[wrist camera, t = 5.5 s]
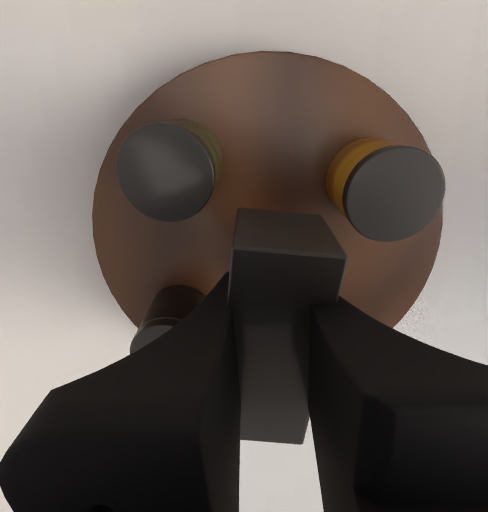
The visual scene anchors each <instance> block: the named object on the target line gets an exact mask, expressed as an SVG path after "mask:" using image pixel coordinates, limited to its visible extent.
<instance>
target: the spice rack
mask: <svg viewBox="0 0 488 512" xmlns="http://www.w3.org/2000/svg"><path fill="white" fill-rule="evenodd" d="M444 194H445V178H444V174H443V171H442V168H441V166H440V165H439V163H438V162H437V160H436V159H435V158H434V157H433V156H432V155H431V153H430V151H429V149H428V146H427V144H426V142H425V140H424V138H423V136H422V134H421V133H420V131H419V130H418V128H417V127H416V126H415V124H414V123H413V121H412V120H411V118H410V117H409V115H408V114H407V113H406V112H405V111H404V110H403V109H402V108H401V107H400V106H399V105H398V104H397V102H396V101H395V100H394V99H393V98H392V97H391V96H390V95H389V94H387V93H386V92H385V91H383V90H382V89H381V88H379V87H378V86H377V85H375V84H374V83H373V82H371V81H370V80H369V79H367V78H365V77H364V76H362V75H360V74H358V73H356V72H354V71H352V70H350V69H348V68H347V67H345V66H342V65H340V64H337V63H334V62H331V61H328V60H325V59H322V58H319V57H315V56H310V55H304V54H299V53H293V52H275V51H258V52H251V53H243V54H235V55H230V56H227V57H223V58H220V59H216V60H213V61H209V62H206V63H204V64H201V65H199V66H197V67H195V68H193V69H191V70H188V71H186V72H184V73H182V74H180V75H178V76H177V77H175V78H174V79H172V80H171V81H169V82H168V83H166V84H165V85H163V86H162V87H160V88H159V89H157V90H156V91H155V92H154V93H153V94H152V95H151V96H149V97H148V98H147V99H146V100H145V101H144V102H143V103H142V104H141V105H139V106H138V107H137V109H136V110H135V111H134V112H133V113H132V115H131V116H130V117H129V118H128V120H127V121H126V122H125V123H124V124H123V126H122V127H121V129H120V130H119V132H118V134H117V135H116V137H115V139H114V140H113V142H112V144H111V145H110V147H109V149H108V151H107V154H106V156H105V159H104V161H103V164H102V166H101V169H100V172H99V176H98V180H97V184H96V188H95V192H94V202H93V212H92V220H93V238H94V243H95V248H96V254H97V258H98V261H99V264H100V267H101V270H102V273H103V276H104V278H105V280H106V283H107V285H108V287H109V289H110V291H111V293H112V295H113V296H114V298H115V299H116V301H117V303H118V304H119V306H120V307H121V309H122V310H123V311H124V313H125V314H126V315H127V316H128V318H129V319H130V320H131V321H132V322H133V324H134V325H135V326H136V327H137V328H138V331H137V332H136V334H135V336H134V338H133V340H132V343H131V346H130V354H132V353H134V352H136V351H137V350H139V349H141V348H142V347H144V346H145V345H147V344H149V343H150V342H152V341H153V340H155V339H156V338H158V337H160V336H161V335H163V334H164V333H165V332H167V331H168V330H170V329H171V328H172V327H173V326H175V325H176V324H177V323H179V322H180V321H181V320H182V319H183V318H185V317H186V316H187V315H188V314H189V313H190V312H191V311H192V310H193V309H194V308H195V307H196V306H197V305H198V304H199V303H200V302H201V301H202V300H203V299H204V298H205V297H206V296H207V294H208V293H209V292H210V291H211V290H212V289H213V288H214V286H215V285H216V284H217V283H218V281H219V280H220V279H221V278H222V276H223V275H224V274H225V273H226V272H229V285H228V298H227V309H229V310H232V311H233V322H234V333H235V344H236V355H237V366H238V377H239V388H240V399H241V421H240V440H251V441H263V442H275V443H287V444H299V445H301V444H303V442H304V438H305V433H306V429H307V425H308V421H309V417H310V415H309V410H308V381H309V344H310V307H314V306H335V305H337V302H338V298H339V295H340V296H341V297H342V298H344V299H345V300H346V301H348V302H349V303H351V304H352V305H354V306H355V307H357V308H358V309H359V310H361V311H362V312H364V313H366V314H367V315H369V316H371V317H372V318H374V319H376V320H378V321H379V322H381V323H383V324H385V325H387V326H388V327H390V328H393V327H394V326H395V325H396V324H397V323H398V322H399V321H400V320H401V319H402V318H403V317H404V315H405V314H406V313H407V311H408V310H409V309H410V308H411V306H412V305H413V304H414V302H415V301H416V299H417V297H418V296H419V294H420V292H421V291H422V289H423V288H424V286H425V284H426V281H427V279H428V277H429V275H430V272H431V270H432V268H433V265H434V262H435V258H436V255H437V252H438V248H439V244H440V237H441V230H442V202H443V198H444Z"/></svg>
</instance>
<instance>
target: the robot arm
mask: <svg viewBox="0 0 488 512" xmlns="http://www.w3.org/2000/svg"><path fill="white" fill-rule="evenodd" d="M228 285H229V272H226V273H225V274H224V275H223V276H222V278H221V279H220V280H219V281H218V283H217V284H216V285H215V286H214V288H213V289H212V290H211V291H210V292H209V293H208V294H207V296H206V297H205V298H204V299H203V300H202V301H201V302H200V303H199V304H198V305H197V306H196V307H195V308H194V309H193V310H192V311H191V312H190V313H189V314H188V315H187V316H186V317H185V318H183V319H182V320H181V321H180V322H179V323H177V324H176V325H175V326H173V327H172V328H171V329H170V330H168V331H167V332H165V333H164V334H163V335H161V336H160V337H158V338H156V339H155V340H153V341H152V342H150V343H149V344H147V345H145V346H144V347H142V348H141V349H139V350H137V351H136V352H134V353H132V354H130V355H128V356H127V357H125V358H123V359H121V360H119V361H117V362H115V363H113V364H111V365H109V366H107V367H105V368H103V369H101V370H99V371H96V372H94V373H92V374H89V375H87V376H85V377H82V378H80V379H77V380H75V381H73V382H70V383H68V384H65V385H63V386H61V387H58V388H55V389H53V390H51V391H50V392H49V394H48V395H47V396H46V397H45V399H44V400H43V402H42V403H41V404H40V406H39V407H38V408H37V410H36V411H35V412H34V414H33V415H32V417H31V418H30V419H29V421H28V422H27V424H26V425H25V426H24V428H23V429H22V431H21V432H20V433H19V435H18V436H17V438H16V439H15V440H14V442H13V443H12V445H11V446H10V447H9V449H8V450H7V452H6V453H5V455H4V457H3V458H2V460H1V462H0V486H1V489H2V491H3V494H4V496H5V498H6V500H7V502H8V503H9V505H10V507H11V508H12V510H13V512H239V464H240V421H241V399H240V388H239V377H238V366H237V355H236V344H235V333H234V322H233V311H232V310H229V309H227V298H228ZM308 410H309V415H310V420H311V426H312V433H313V439H314V446H315V453H316V459H317V466H318V473H319V480H320V487H321V494H322V502H323V509H324V512H488V365H484V364H481V363H477V362H474V361H471V360H468V359H465V358H462V357H459V356H457V355H454V354H451V353H448V352H446V351H443V350H440V349H437V348H435V347H432V346H430V345H427V344H425V343H423V342H420V341H418V340H416V339H414V338H411V337H409V336H407V335H405V334H403V333H400V332H398V331H396V330H394V329H392V328H390V327H388V326H387V325H385V324H383V323H381V322H379V321H378V320H376V319H374V318H372V317H371V316H369V315H367V314H366V313H364V312H362V311H361V310H359V309H358V308H357V307H355V306H354V305H352V304H351V303H349V302H348V301H346V300H345V299H344V298H342V297H341V296H340V295H339V298H338V302H337V305H335V306H314V307H310V344H309V381H308Z"/></svg>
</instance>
